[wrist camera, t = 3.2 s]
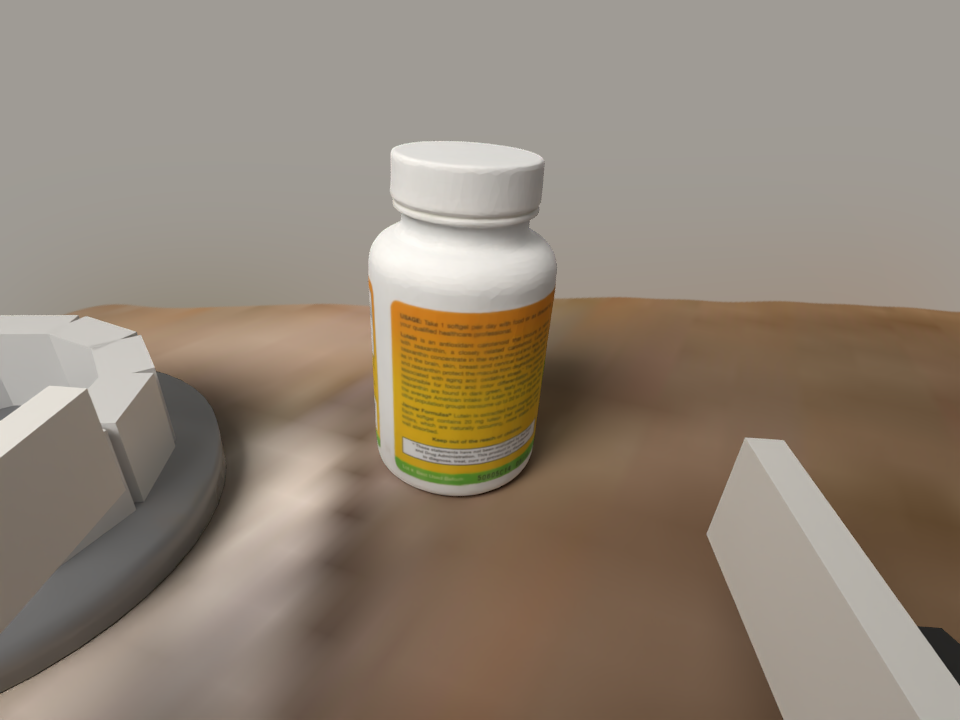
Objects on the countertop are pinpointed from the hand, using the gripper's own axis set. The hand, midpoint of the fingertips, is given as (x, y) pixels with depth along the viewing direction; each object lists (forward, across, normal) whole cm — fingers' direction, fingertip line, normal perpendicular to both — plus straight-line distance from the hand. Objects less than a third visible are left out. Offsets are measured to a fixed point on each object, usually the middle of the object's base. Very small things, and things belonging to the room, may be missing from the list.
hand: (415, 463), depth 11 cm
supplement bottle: (+8, 0, -7) cm, 11 cm away
